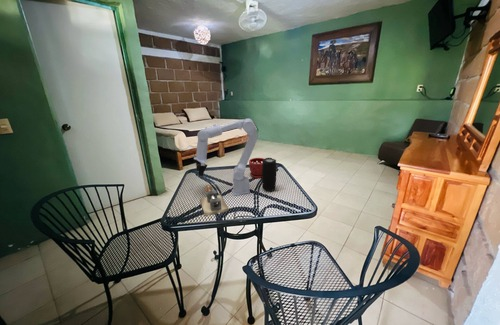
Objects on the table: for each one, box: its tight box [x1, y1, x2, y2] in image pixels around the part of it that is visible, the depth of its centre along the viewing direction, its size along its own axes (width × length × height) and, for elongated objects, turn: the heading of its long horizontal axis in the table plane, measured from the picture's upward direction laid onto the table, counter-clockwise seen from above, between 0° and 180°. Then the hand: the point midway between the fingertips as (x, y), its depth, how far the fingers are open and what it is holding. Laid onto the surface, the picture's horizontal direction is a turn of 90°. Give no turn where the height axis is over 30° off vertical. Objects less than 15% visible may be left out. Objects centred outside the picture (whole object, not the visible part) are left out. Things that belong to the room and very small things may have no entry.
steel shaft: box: [204, 184, 217, 204], centre depth 110 cm, size 4×18×4 cm, turn 22°
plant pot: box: [248, 157, 265, 179], centre depth 145 cm, size 13×13×12 cm
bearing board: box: [199, 189, 229, 217], centre depth 107 cm, size 12×16×7 cm
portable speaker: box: [261, 157, 277, 193], centre depth 123 cm, size 9×9×20 cm
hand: (199, 172), depth 118 cm, fingers open, 7 cm apart
